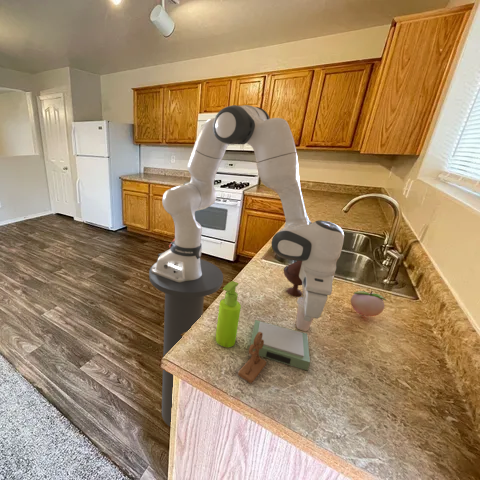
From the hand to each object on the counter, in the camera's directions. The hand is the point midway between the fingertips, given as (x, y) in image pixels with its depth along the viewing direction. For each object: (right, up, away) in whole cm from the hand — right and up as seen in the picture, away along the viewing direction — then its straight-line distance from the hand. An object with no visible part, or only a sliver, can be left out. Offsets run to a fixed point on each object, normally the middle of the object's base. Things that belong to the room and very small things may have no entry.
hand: (306, 312), depth 84 cm
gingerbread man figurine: (-22, -11, -14) cm, 29 cm away
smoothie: (0, -5, +2) cm, 6 cm away
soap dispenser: (-27, -8, -5) cm, 29 cm away
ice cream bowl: (+7, +2, +22) cm, 23 cm away
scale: (-12, -8, -6) cm, 16 cm away
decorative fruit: (+25, -4, +8) cm, 26 cm away
